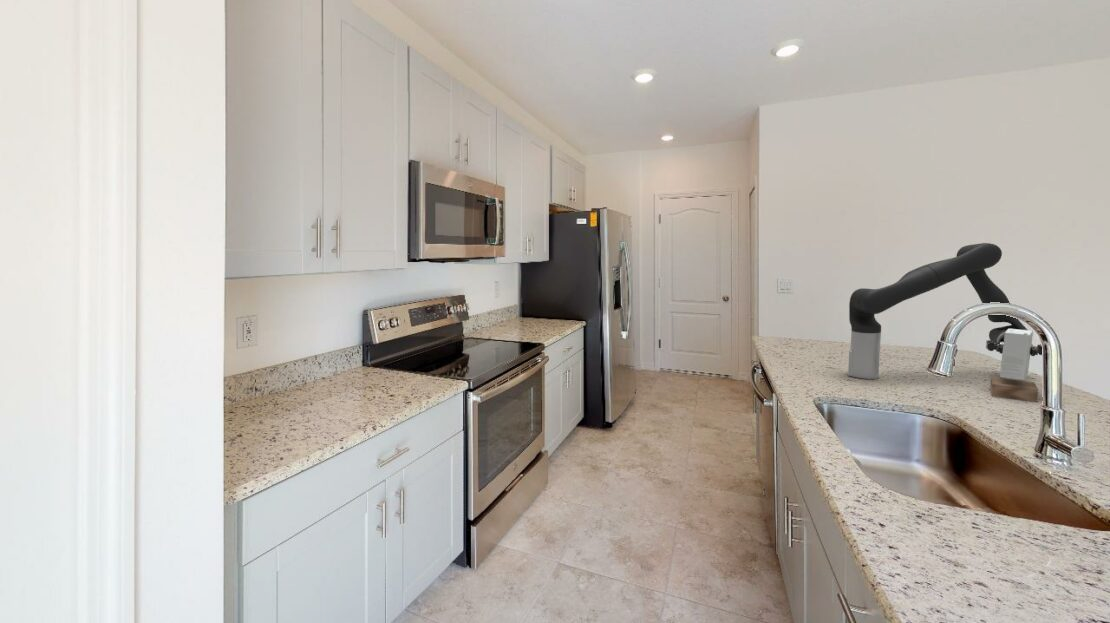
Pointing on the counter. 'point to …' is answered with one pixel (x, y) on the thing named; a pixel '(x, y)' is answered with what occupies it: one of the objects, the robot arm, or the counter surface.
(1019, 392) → the walnut base
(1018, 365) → the skincare box
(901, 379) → the counter surface
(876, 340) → the robot arm
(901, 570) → the counter surface
